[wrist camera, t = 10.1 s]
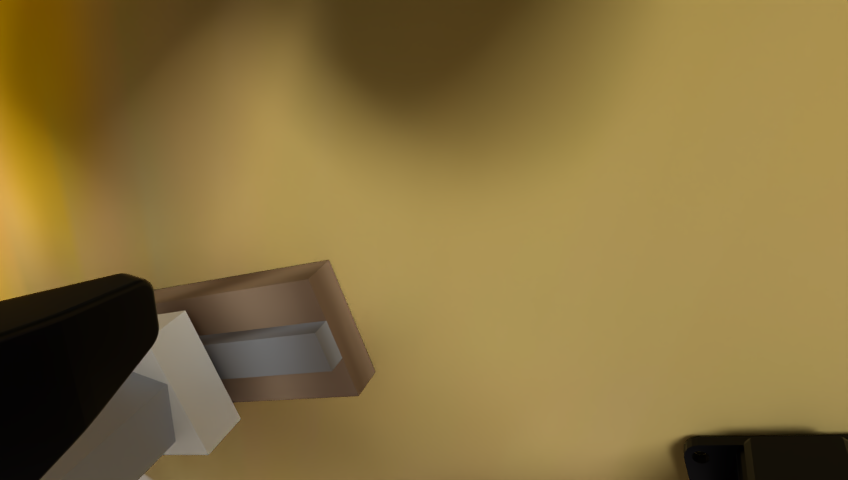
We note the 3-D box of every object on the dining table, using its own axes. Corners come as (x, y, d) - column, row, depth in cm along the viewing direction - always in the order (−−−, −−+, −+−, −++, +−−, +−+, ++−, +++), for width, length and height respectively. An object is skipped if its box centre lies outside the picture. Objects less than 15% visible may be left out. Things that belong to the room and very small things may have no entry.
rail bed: (328, 260, 23) (227, 355, 18) (375, 371, 25) (294, 488, 19) (114, 296, 28) (-11, 378, 23) (163, 386, 30) (56, 481, 25)
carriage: (185, 310, 23) (-117, 544, 14) (240, 419, 25) (-1, 688, 16) (113, 320, 25) (-194, 534, 16) (170, 421, 26) (-83, 665, 18)
